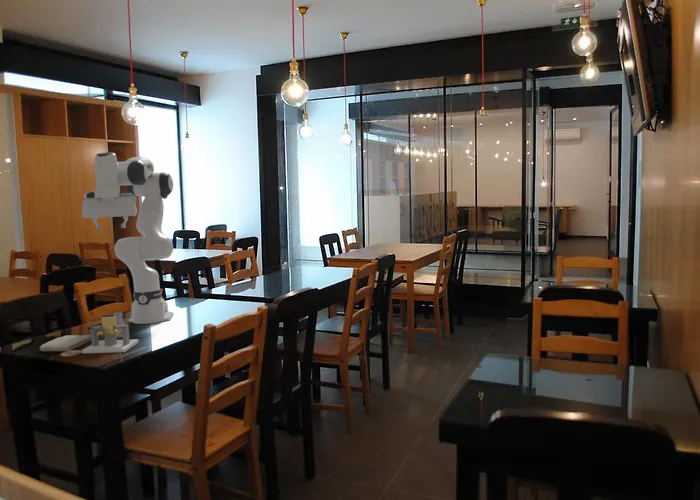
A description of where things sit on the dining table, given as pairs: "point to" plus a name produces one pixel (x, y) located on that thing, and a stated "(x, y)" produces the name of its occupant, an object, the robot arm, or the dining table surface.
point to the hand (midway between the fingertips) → (111, 228)
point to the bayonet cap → (109, 326)
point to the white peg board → (110, 341)
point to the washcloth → (65, 343)
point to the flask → (119, 322)
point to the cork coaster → (71, 353)
